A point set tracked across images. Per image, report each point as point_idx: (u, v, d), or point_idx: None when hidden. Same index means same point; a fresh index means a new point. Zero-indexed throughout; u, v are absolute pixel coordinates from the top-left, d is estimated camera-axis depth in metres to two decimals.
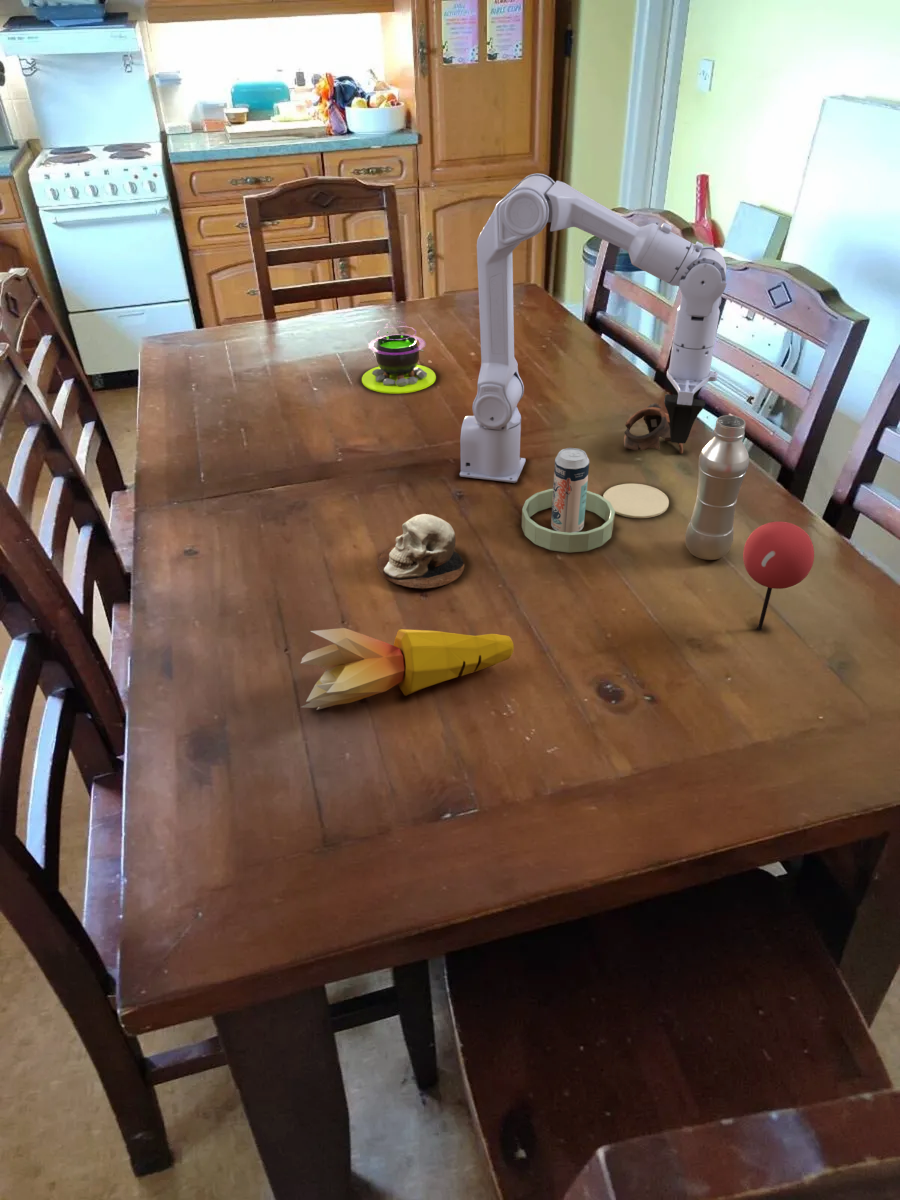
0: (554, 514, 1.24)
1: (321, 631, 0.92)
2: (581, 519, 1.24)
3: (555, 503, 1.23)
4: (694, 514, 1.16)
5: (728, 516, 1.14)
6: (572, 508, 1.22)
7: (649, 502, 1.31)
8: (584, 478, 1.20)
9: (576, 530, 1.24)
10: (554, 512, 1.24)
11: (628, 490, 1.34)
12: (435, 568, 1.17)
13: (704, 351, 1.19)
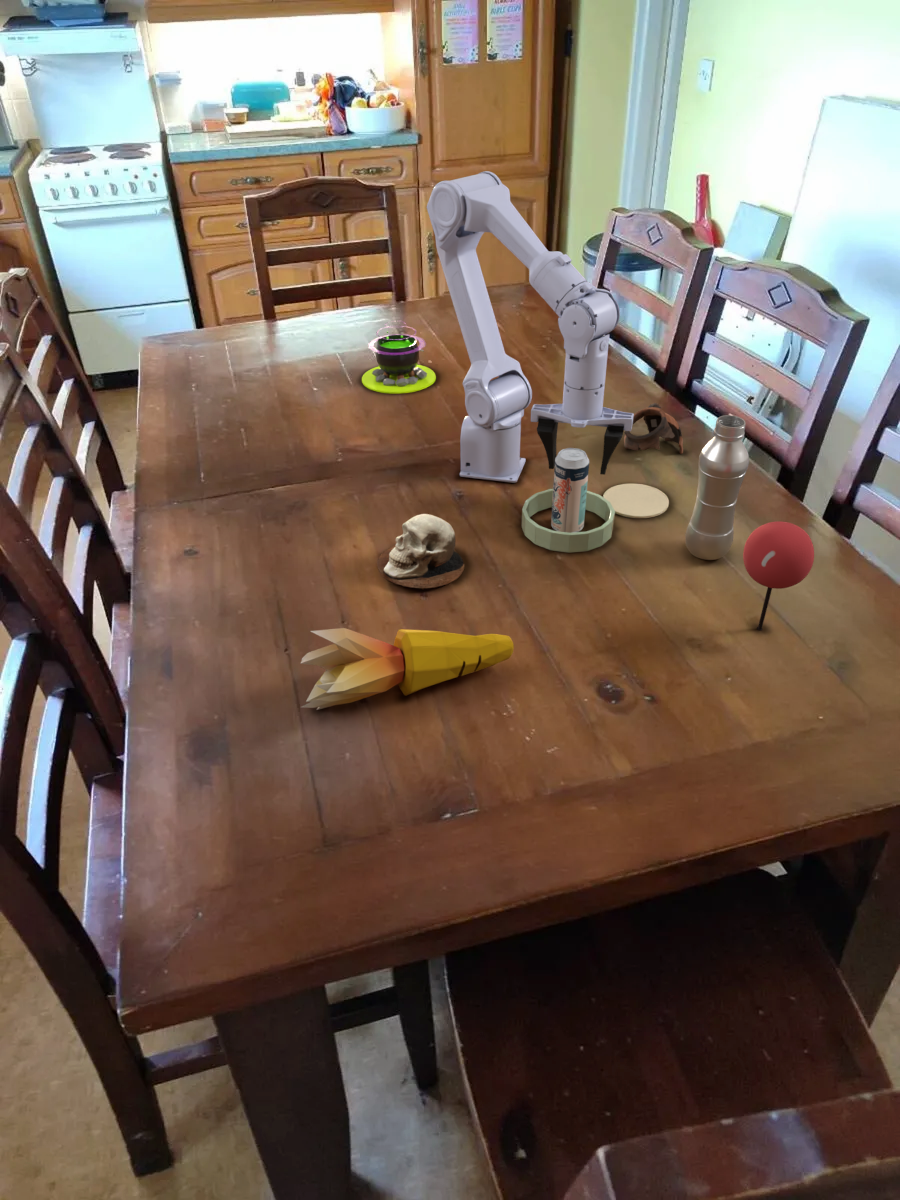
0: (554, 514, 1.24)
1: (321, 631, 0.93)
2: (581, 519, 1.24)
3: (555, 503, 1.23)
4: (694, 514, 1.16)
5: (728, 516, 1.14)
6: (572, 508, 1.22)
7: (649, 502, 1.31)
8: (584, 478, 1.20)
9: (576, 530, 1.24)
10: (554, 512, 1.24)
11: (628, 490, 1.34)
12: (435, 568, 1.17)
13: (565, 387, 1.20)
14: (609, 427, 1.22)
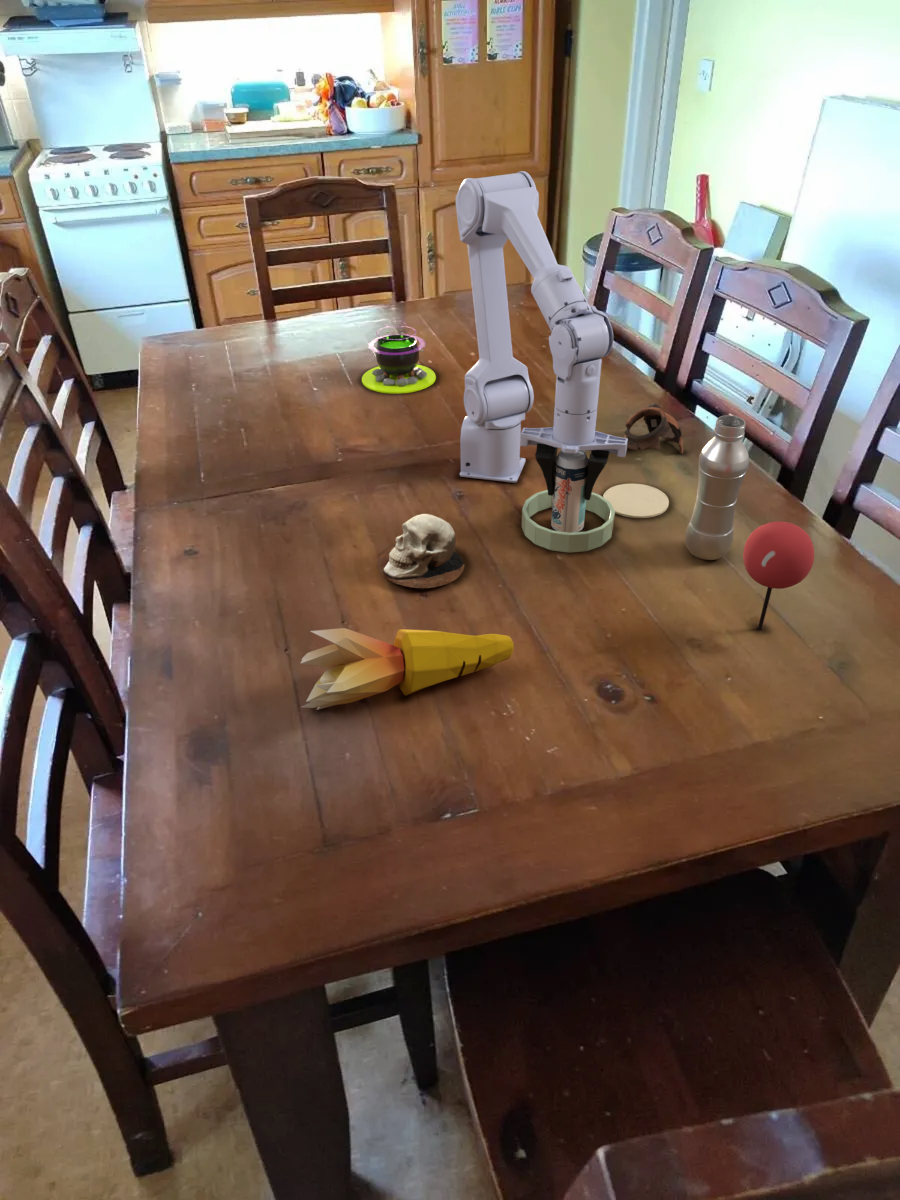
0: (554, 514, 1.24)
1: (321, 631, 0.92)
2: (581, 519, 1.24)
3: (555, 503, 1.23)
4: (694, 514, 1.16)
5: (728, 516, 1.14)
6: (572, 508, 1.22)
7: (649, 502, 1.31)
8: (584, 478, 1.20)
9: (576, 530, 1.24)
10: (554, 512, 1.24)
11: (628, 490, 1.34)
12: (435, 568, 1.17)
13: (556, 411, 1.14)
14: (593, 452, 1.17)
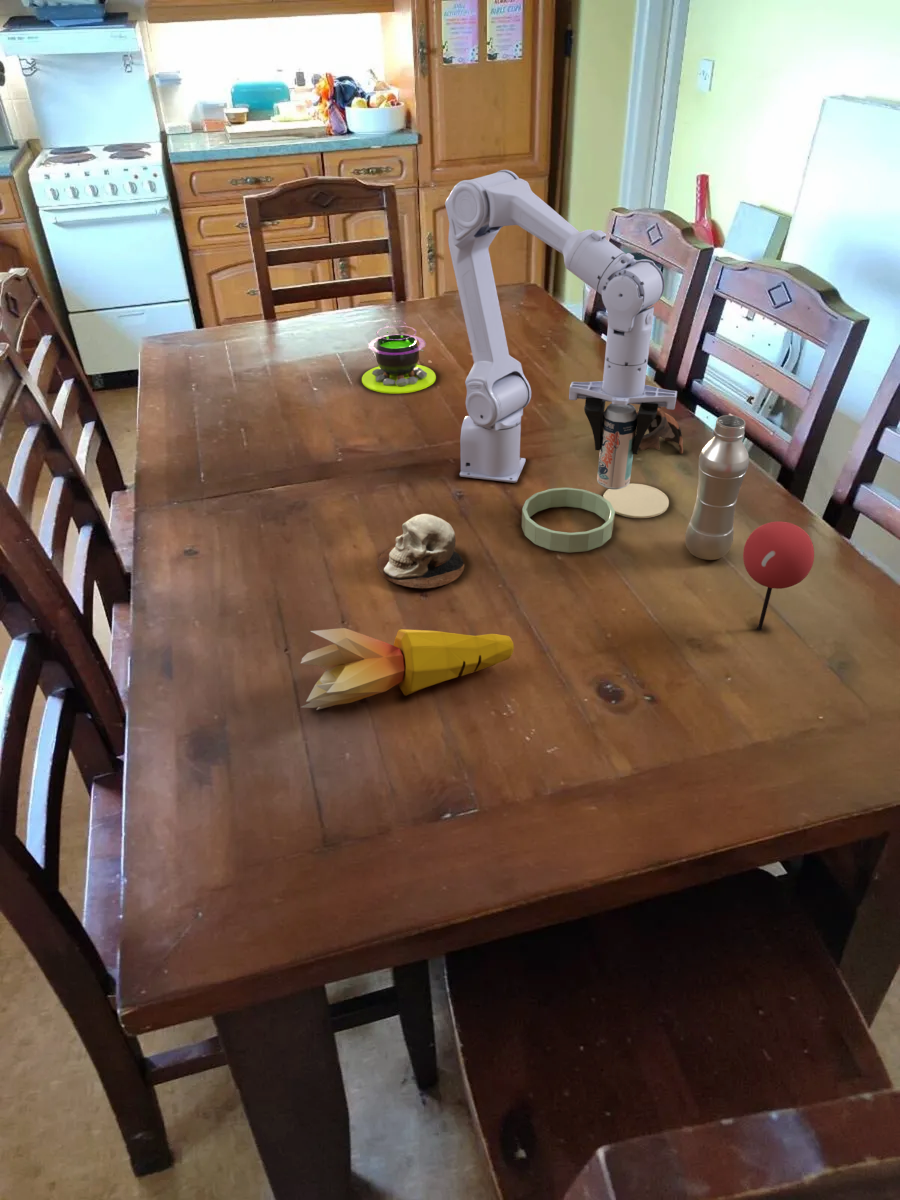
0: (601, 469, 1.25)
1: (321, 631, 0.93)
2: (628, 474, 1.24)
3: (602, 458, 1.23)
4: (694, 514, 1.16)
5: (728, 516, 1.14)
6: (620, 462, 1.22)
7: (649, 502, 1.31)
8: (632, 432, 1.20)
9: (623, 485, 1.25)
10: (601, 467, 1.24)
11: (628, 490, 1.34)
12: (435, 568, 1.17)
13: (607, 363, 1.15)
14: (643, 404, 1.18)
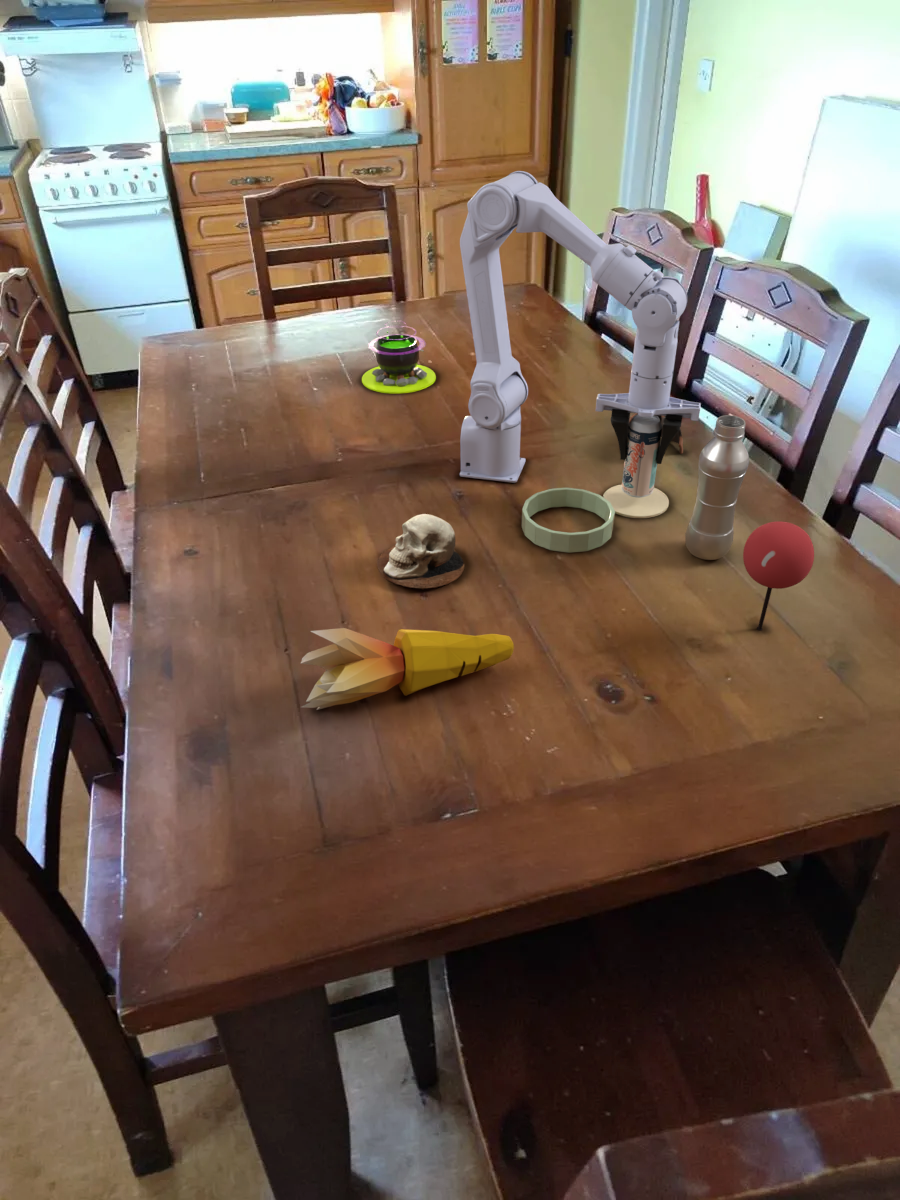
0: (626, 478, 1.29)
1: (321, 631, 0.93)
2: (652, 483, 1.28)
3: (627, 467, 1.27)
4: (694, 514, 1.16)
5: (728, 516, 1.14)
6: (644, 472, 1.26)
7: (649, 502, 1.31)
8: (657, 443, 1.24)
9: (647, 494, 1.29)
10: (626, 476, 1.28)
11: None
12: (435, 568, 1.17)
13: (633, 376, 1.19)
14: (667, 416, 1.22)
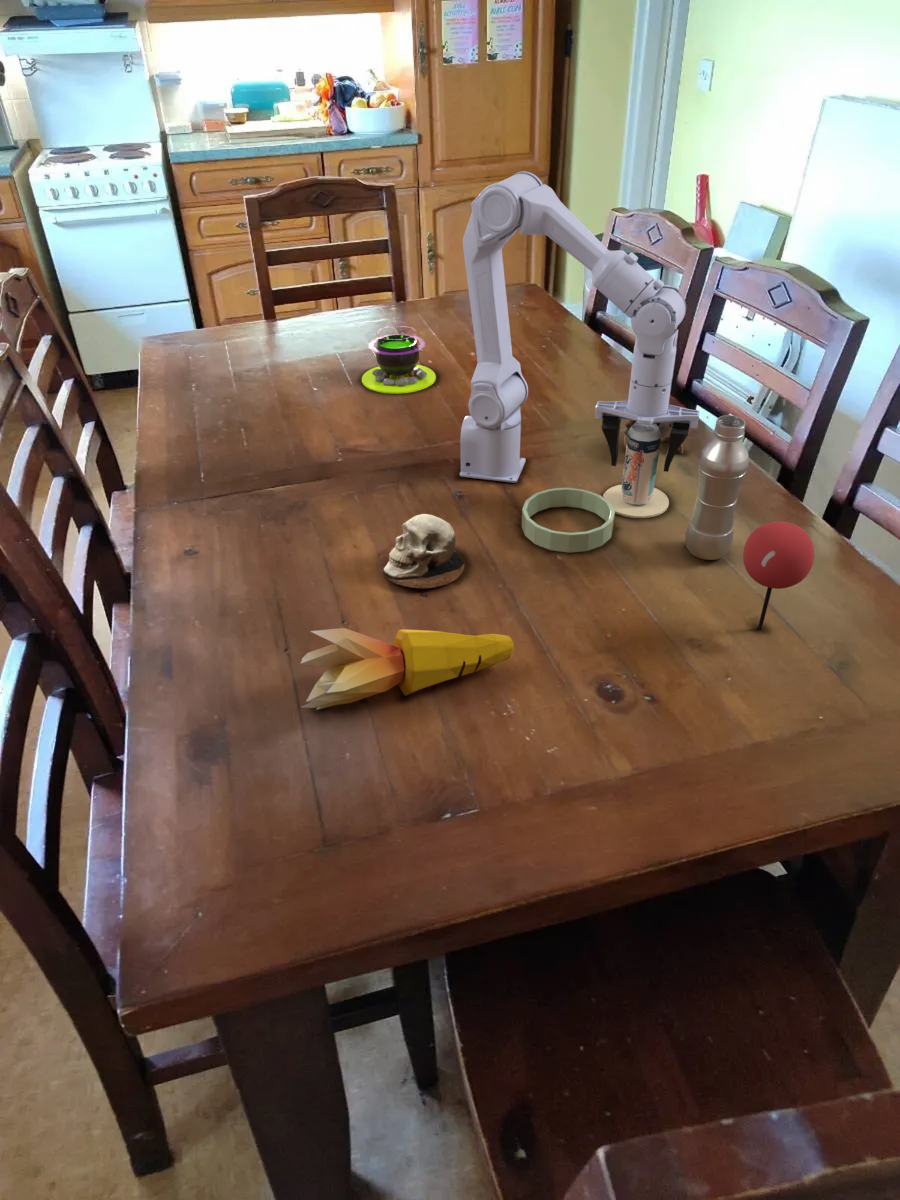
0: (625, 486, 1.29)
1: (321, 631, 0.93)
2: (651, 491, 1.29)
3: (626, 475, 1.28)
4: (694, 514, 1.16)
5: (728, 516, 1.14)
6: (643, 480, 1.27)
7: (649, 502, 1.31)
8: (656, 451, 1.25)
9: (646, 501, 1.30)
10: (625, 484, 1.29)
11: None
12: (435, 568, 1.17)
13: (632, 384, 1.20)
14: (675, 424, 1.22)
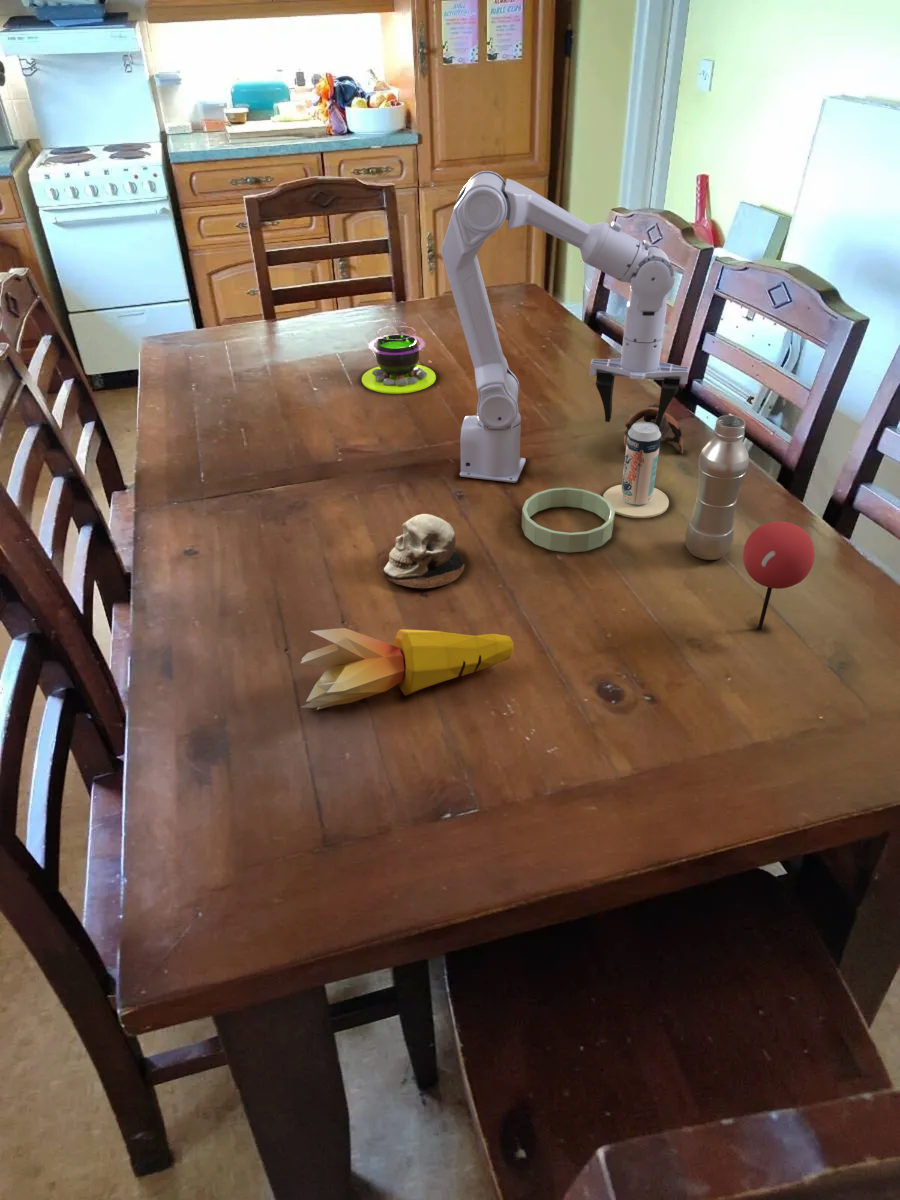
0: (625, 486, 1.29)
1: (321, 631, 0.92)
2: (651, 491, 1.29)
3: (626, 475, 1.28)
4: (694, 514, 1.16)
5: (728, 516, 1.14)
6: (643, 480, 1.27)
7: (649, 502, 1.31)
8: (656, 451, 1.25)
9: (646, 501, 1.30)
10: (625, 484, 1.29)
11: None
12: (435, 568, 1.17)
13: (625, 341, 1.25)
14: (665, 380, 1.28)
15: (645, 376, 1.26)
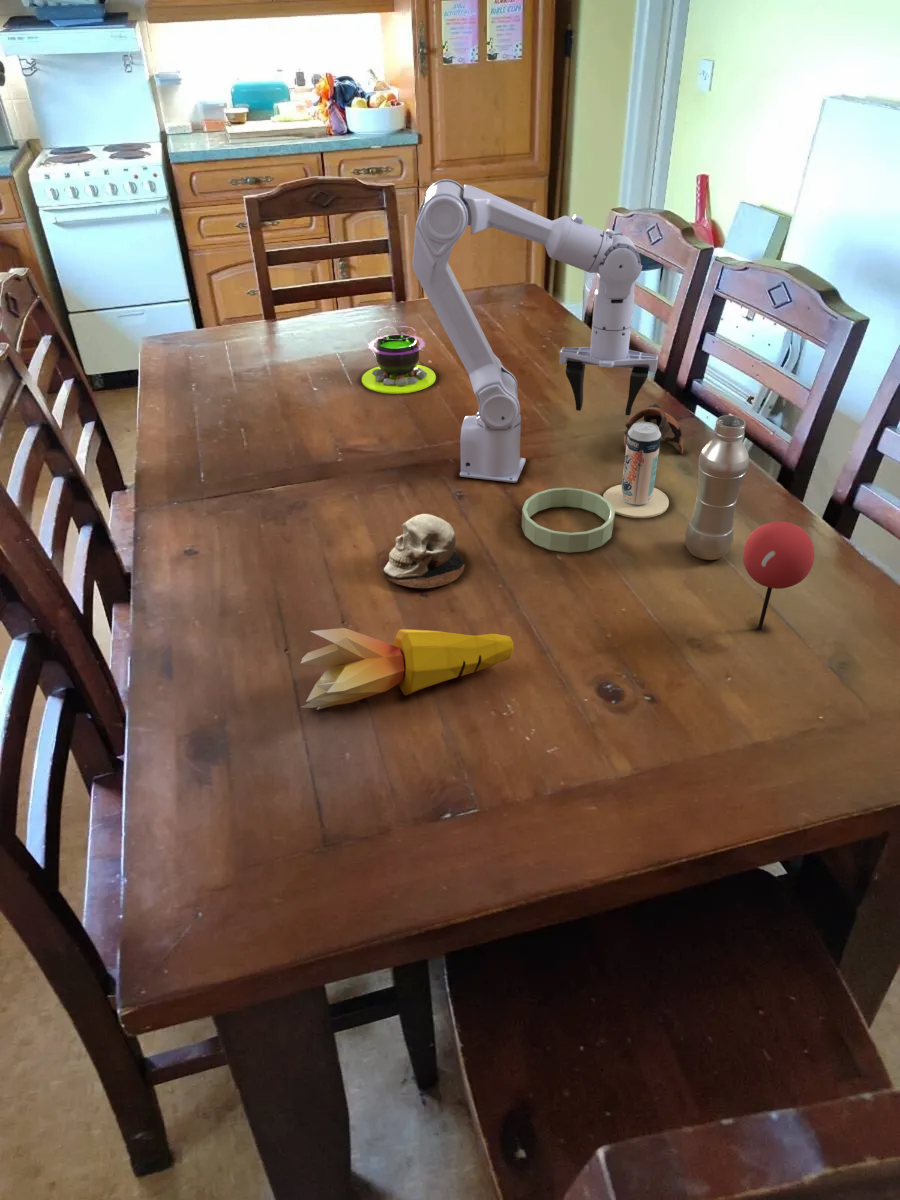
0: (625, 486, 1.29)
1: (321, 631, 0.93)
2: (651, 491, 1.29)
3: (626, 475, 1.28)
4: (694, 514, 1.16)
5: (728, 516, 1.14)
6: (643, 480, 1.27)
7: (649, 502, 1.31)
8: (656, 451, 1.25)
9: (646, 501, 1.30)
10: (625, 484, 1.29)
11: None
12: (435, 568, 1.17)
13: (594, 329, 1.26)
14: (635, 368, 1.28)
15: (614, 364, 1.27)
